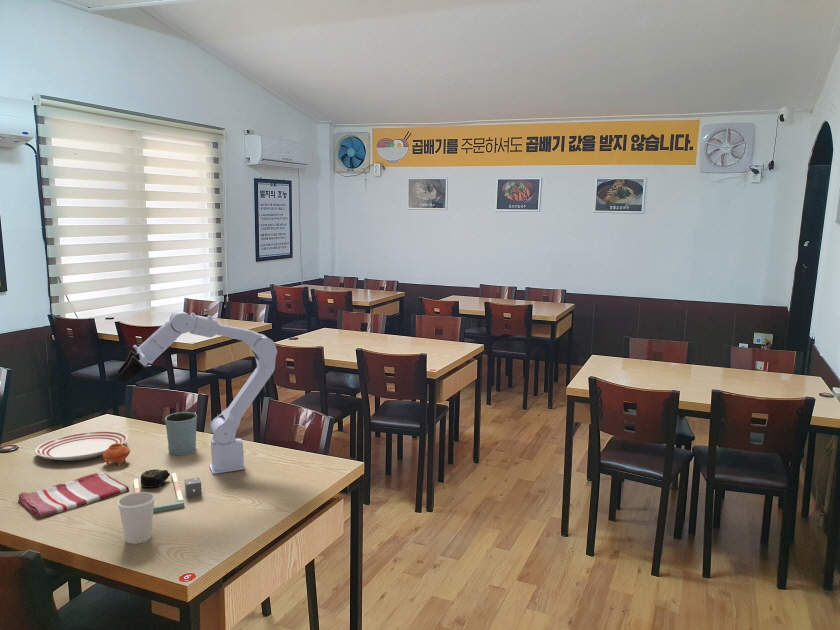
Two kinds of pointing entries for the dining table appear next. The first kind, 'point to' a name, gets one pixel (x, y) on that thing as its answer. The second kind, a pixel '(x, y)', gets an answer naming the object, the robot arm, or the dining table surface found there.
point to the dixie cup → (137, 516)
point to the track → (171, 505)
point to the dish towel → (71, 494)
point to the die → (193, 487)
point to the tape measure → (154, 477)
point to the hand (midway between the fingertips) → (120, 377)
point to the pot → (116, 453)
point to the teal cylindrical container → (181, 432)
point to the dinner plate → (80, 445)
